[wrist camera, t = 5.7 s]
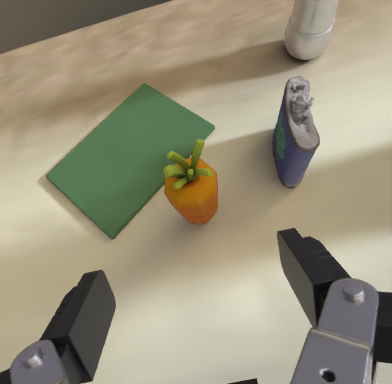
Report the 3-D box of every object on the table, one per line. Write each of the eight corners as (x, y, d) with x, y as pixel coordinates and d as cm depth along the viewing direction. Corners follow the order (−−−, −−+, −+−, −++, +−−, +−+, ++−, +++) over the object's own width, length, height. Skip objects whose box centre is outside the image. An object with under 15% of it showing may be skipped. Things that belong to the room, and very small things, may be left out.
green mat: (215, 128, 39) (214, 125, 38) (113, 239, 34) (110, 238, 33) (145, 86, 44) (144, 82, 43) (48, 178, 39) (44, 175, 38)
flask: (302, 187, 34) (328, 137, 24) (277, 189, 34) (293, 139, 24) (292, 125, 37) (311, 58, 27) (269, 126, 38) (281, 62, 28)
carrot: (214, 193, 35) (199, 117, 21) (229, 228, 33) (225, 169, 19) (177, 207, 35) (139, 141, 21) (190, 244, 33) (158, 196, 19)
